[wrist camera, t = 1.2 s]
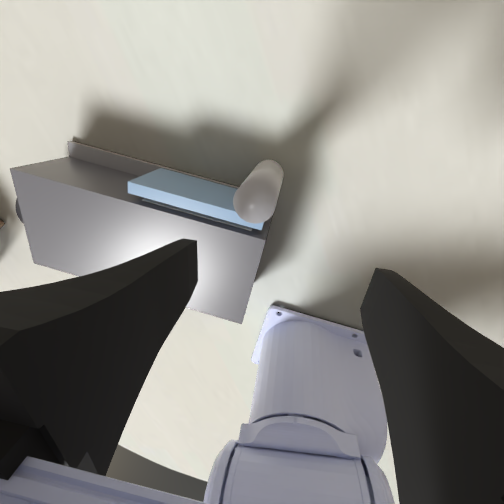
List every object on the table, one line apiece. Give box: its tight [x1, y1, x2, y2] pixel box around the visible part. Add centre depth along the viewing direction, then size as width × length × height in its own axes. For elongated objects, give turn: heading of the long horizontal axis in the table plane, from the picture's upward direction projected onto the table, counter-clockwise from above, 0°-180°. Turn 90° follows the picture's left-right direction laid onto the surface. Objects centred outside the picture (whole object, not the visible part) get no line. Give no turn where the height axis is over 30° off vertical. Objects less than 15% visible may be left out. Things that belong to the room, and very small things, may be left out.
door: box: [128, 160, 284, 230], centre depth 15 cm, size 9×3×6 cm, turn 77°
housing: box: [10, 141, 273, 324], centre depth 19 cm, size 17×8×5 cm, turn 77°
